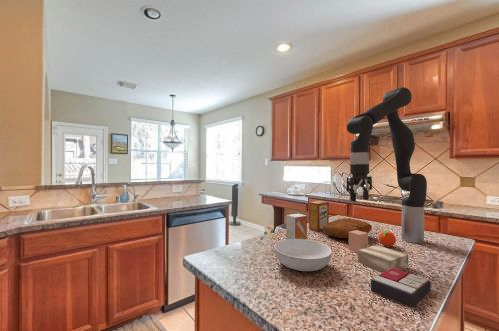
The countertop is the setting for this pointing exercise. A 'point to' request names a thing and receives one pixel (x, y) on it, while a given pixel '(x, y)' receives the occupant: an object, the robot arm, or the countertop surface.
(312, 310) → the countertop surface
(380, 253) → the birch block
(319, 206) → the baking soda box
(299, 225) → the small box
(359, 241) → the terracotta block
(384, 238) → the clementine
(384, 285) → the grey and red box
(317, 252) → the serving bowl
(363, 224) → the clay tablet
